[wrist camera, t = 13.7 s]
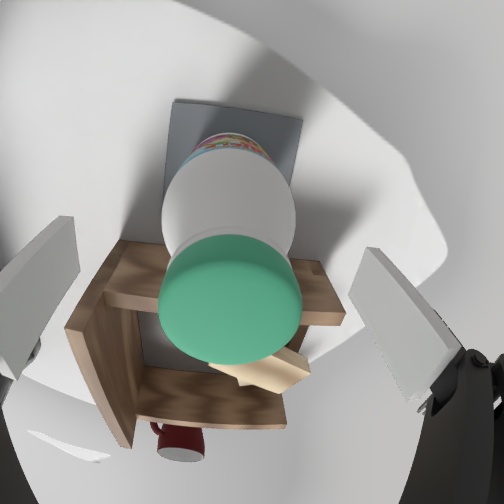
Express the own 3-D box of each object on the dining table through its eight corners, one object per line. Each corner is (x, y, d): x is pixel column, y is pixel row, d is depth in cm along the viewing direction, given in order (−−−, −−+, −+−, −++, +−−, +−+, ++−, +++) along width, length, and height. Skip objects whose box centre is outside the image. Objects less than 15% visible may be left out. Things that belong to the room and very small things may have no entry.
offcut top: (276, 379, 35) (279, 394, 33) (208, 348, 31) (207, 365, 29) (307, 358, 33) (311, 373, 31) (238, 322, 29) (239, 339, 27)
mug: (143, 403, 45) (136, 448, 36) (162, 388, 42) (156, 438, 33) (190, 421, 48) (189, 464, 40) (213, 408, 46) (213, 455, 37)
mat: (162, 221, 28) (162, 222, 28) (173, 102, 22) (172, 102, 22) (277, 234, 30) (278, 235, 29) (301, 120, 24) (302, 120, 24)
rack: (136, 370, 39) (120, 446, 27) (118, 239, 29) (64, 328, 16) (276, 381, 43) (289, 457, 30) (319, 261, 32) (365, 353, 20)
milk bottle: (260, 215, 28) (308, 394, 11) (183, 204, 27) (121, 379, 9) (277, 139, 25) (391, 228, 7) (193, 126, 23) (98, 182, 6)
